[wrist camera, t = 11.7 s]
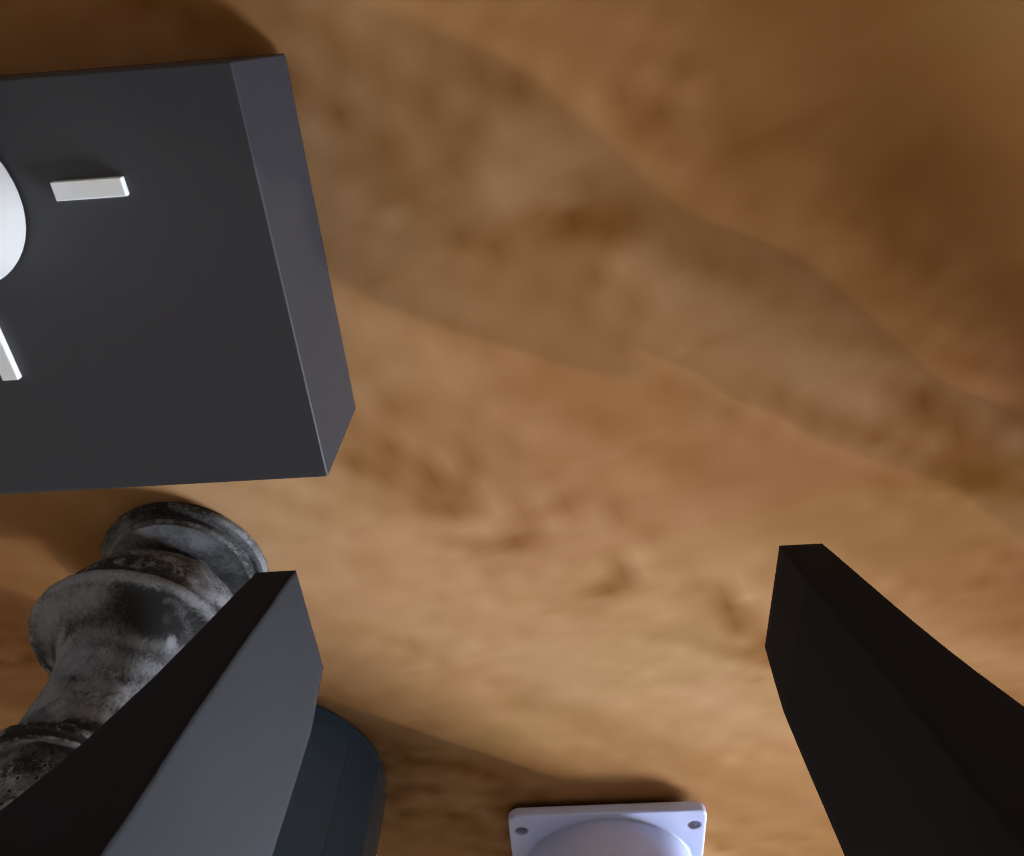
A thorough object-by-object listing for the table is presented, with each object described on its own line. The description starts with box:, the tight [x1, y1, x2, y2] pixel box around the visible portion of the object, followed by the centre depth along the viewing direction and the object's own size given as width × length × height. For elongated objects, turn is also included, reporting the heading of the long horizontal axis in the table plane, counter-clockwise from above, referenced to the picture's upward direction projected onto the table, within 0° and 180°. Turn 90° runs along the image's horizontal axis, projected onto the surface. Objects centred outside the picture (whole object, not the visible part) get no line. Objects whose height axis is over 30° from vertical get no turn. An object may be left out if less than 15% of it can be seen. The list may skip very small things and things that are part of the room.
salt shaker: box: [0, 503, 268, 810], centre depth 18 cm, size 6×6×12 cm
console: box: [0, 54, 355, 494], centre depth 16 cm, size 11×13×4 cm
